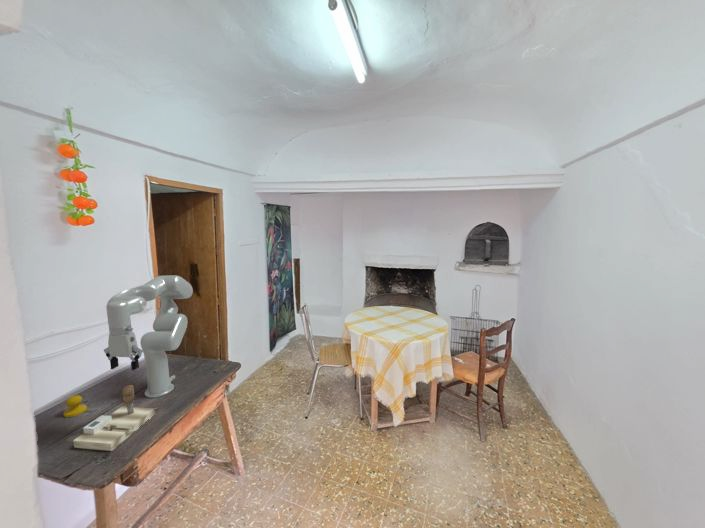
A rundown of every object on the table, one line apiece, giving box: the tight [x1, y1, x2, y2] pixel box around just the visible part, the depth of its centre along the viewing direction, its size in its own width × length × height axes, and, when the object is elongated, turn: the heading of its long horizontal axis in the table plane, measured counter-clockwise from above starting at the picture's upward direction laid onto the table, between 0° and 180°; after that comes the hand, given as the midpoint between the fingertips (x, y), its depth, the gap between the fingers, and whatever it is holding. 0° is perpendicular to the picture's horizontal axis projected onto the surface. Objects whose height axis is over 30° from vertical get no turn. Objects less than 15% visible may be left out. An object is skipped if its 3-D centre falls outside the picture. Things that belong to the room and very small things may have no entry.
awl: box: [121, 384, 136, 414], centre depth 134 cm, size 4×4×12 cm
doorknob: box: [63, 394, 88, 418], centre depth 140 cm, size 8×8×8 cm
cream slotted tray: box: [72, 405, 156, 452], centre depth 129 cm, size 22×16×3 cm
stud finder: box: [82, 414, 112, 434], centre depth 126 cm, size 8×4×2 cm, turn 173°
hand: (125, 368), depth 132 cm, fingers open, 9 cm apart
